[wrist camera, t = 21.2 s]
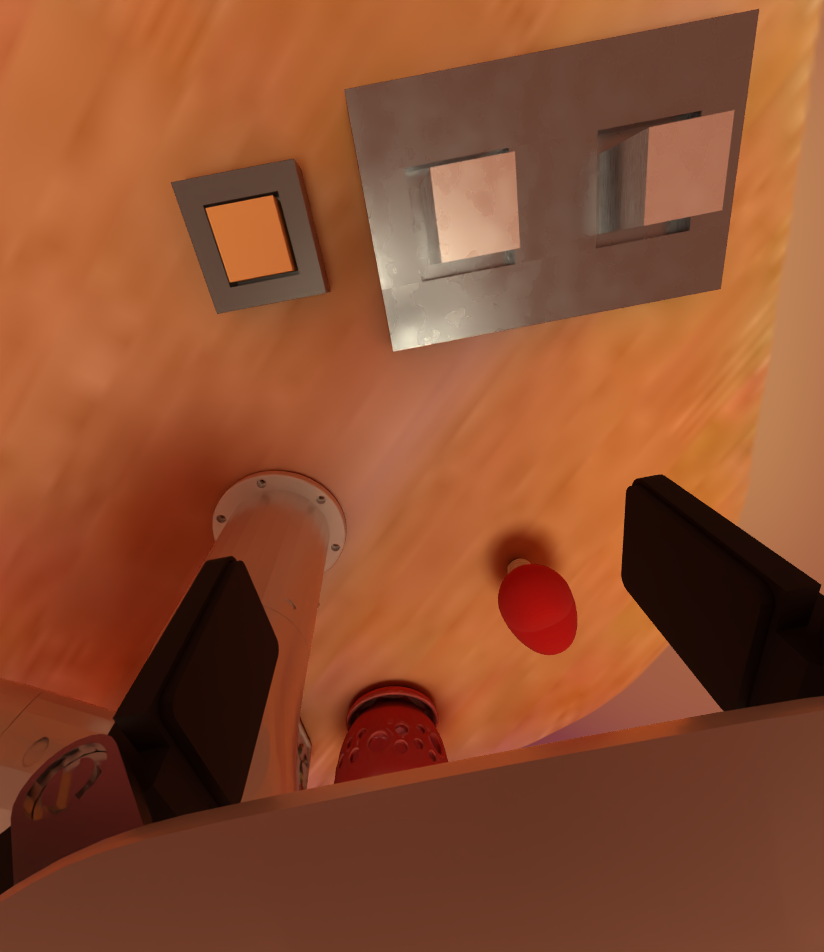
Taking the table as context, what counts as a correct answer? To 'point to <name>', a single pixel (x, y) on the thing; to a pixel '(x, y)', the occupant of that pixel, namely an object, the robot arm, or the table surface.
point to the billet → (665, 173)
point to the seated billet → (471, 208)
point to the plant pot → (389, 734)
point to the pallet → (546, 177)
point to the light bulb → (538, 607)
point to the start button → (252, 238)
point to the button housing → (292, 194)
